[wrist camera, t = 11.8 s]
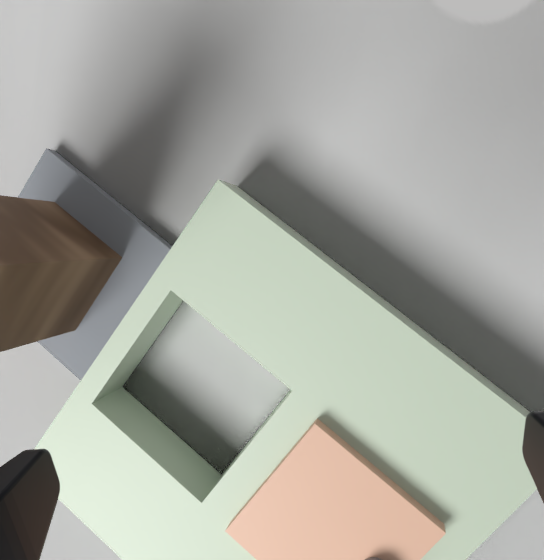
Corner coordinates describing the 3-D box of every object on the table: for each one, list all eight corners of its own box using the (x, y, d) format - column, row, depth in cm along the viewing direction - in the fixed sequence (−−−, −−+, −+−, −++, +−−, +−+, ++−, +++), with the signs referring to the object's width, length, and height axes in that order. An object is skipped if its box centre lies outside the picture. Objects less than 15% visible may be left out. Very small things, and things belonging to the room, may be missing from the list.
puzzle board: (549, 426, 19) (587, 471, 15) (307, 673, 22) (290, 759, 19) (237, 186, 21) (205, 174, 18) (59, 443, 25) (1, 478, 21)
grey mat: (177, 250, 22) (172, 251, 22) (90, 378, 24) (82, 382, 23) (55, 150, 23) (46, 148, 23) (-21, 279, 25) (-31, 280, 24)
